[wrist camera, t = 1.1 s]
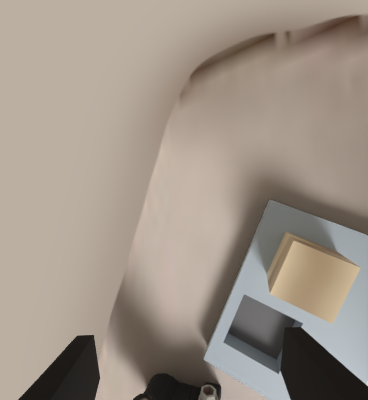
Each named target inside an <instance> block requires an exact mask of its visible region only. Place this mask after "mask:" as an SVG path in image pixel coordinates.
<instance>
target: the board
mask: <svg viewBox="0 0 368 400" xmlns="http://www.w3.org/2000/svg"><path fill="white" fill-rule="evenodd" d="M285 231H287V232H289V233H292V234H294V235H297V236H299V237H302V238H304V239H307V240H309V241H312V242H314V243H317V244H319V245H322V246H324V247H327V248H329V249H332V250H334V251H337V252H339V253H340V254H342V255H343V256H344V257H346V258H347V259H349V260H350V261H352V262H353V263H355V264H356V265H358V266H359V267H360V270H359V272H358V274H357V276H356V278H355V280H354V282H353V284H352V286H351V288H350V290H349V292H348V294H347V296H346V298H345V300H344V302H343V304H342V306H341V308H340V310H339V312H338V314H337V316H336V318H335V320H334V322H333V324H331V323H329V322H327V321H325V320H323V319H321V318H319V317H317V316H315V315H313V314H310V313H308V312H306V311H304V310H302V309H300V308H298V307H296V306H294V305H292V304H290V303H288V302H286V301H283V300H281V299H279V298H277V297H275V296H273V295H271V294H270V292H269V286H268V280H267V272H268V270H269V267H270V265H271V263H272V260H273V258H274V256H275V254H276V251H277V249H278V247H279V245H280V242H281V240H282V238H283V235H284V233H285ZM285 327H301V328H303V329H304V330H305V331H306V332H307V333H308V334H309V335H310V336H312V337H313V338H314V339H315V340H316V341H317V342H318V343H319V344H320V345H322V346H323V347H324V348H325V349H326V350H327V351H328V352H329V353H330V354H332V355H333V356H334V357H335V358H336V359H337V360H338V361H339V362H341V363H342V364H343V365H344V366H345V367H346V368H347V369H349V370H350V371H351V372H352V373H353V374H354V375H355V376H357V377H358V378H359V379H360V380H361V381H362V382H364V383H365V384H366V385H367V386H368V235H366V234H363V233H360V232H358V231H355V230H352V229H349V228H347V227H344V226H341V225H339V224H336V223H333V222H330V221H328V220H325V219H322V218H320V217H317V216H314V215H311V214H309V213H306V212H303V211H300V210H298V209H295V208H292V207H290V206H287V205H284V204H281V203H279V202H276V201H273V200H271V199H269V201H268V203H267V206H266V208H265V211H264V213H263V215H262V218H261V220H260V222H259V225H258V227H257V230H256V232H255V234H254V237H253V239H252V241H251V244H250V246H249V249H248V251H247V253H246V256H245V258H244V260H243V263H242V265H241V267H240V270H239V272H238V275H237V277H236V279H235V282H234V284H233V286H232V289H231V291H230V294H229V296H228V298H227V301H226V303H225V305H224V308H223V310H222V313H221V315H220V317H219V320H218V322H217V324H216V327H215V329H214V332H213V334H212V336H211V339H210V341H209V343H208V346H207V349H206V352H205V356H204V359H203V360H205V361H206V362H208V363H210V364H211V365H213V366H215V367H216V368H218V369H220V370H221V371H223V372H225V373H226V374H228V375H230V376H231V377H233V378H234V379H236V380H238V381H239V382H241V383H243V384H244V385H246V386H248V387H249V388H251V389H253V390H254V391H256V392H258V393H259V394H261V395H263V396H264V397H266V398H267V399H269V400H291V399H290V396H289V394H288V391H287V388H286V385H285V382H284V379H283V377H282V374H281V371H280V367H281V358H282V348H283V339H284V329H285Z"/></svg>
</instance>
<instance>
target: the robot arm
mask: <svg viewBox="0 0 368 400" xmlns="http://www.w3.org/2000/svg"><path fill="white" fill-rule="evenodd" d="M280 371H281V374H282V377H283V379H284V382H285V385H286V388H287V391H288V394H289V396H290V399H291V400H368V386H367V385H366V384H365V383H364V382H362V381H361V380H360V379H359V378H358V377H357V376H355V375H354V374H353V373H352V372H351V371H350V370H349V369H347V368H346V367H345V366H344V365H343V364H342V363H341V362H339V361H338V360H337V359H336V358H335V357H334V356H333V355H332V354H330V353H329V352H328V351H327V350H326V349H325V348H324V347H323V346H322V345H320V344H319V343H318V342H317V341H316V340H315V339H314V338H313V337H312V336H310V335H309V334H308V333H307V332H306V331H305V330H304V329H303V328H301V327H285V329H284V339H283V348H282V358H281V367H280ZM99 380H100V374H99V368H98V361H97V354H96V347H95V341H94V335H84V336H77V337H76V338H75V339H74V340H73V341H72V342H71V343H70V344H69V345H68V346H67V347H66V348H65V350H64V351H63V352H62V353H61V354H60V355H59V356H58V357H57V358H56V360H55V361H54V362H53V363H52V364H51V365H50V366H49V367H48V368H47V370H46V371H45V372H44V373H43V374H42V375H41V376H40V377H39V379H37V381H35V382H34V384H33V385H32V386H31V387H30V388H29V389H28V390H27V391H26V392H25V393H24V394H23V395H22V396H21V397H20V398H19V400H95V396H96V392H97V388H98V384H99Z"/></svg>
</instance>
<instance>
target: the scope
mask: <svg viewBox="0 0 368 400" xmlns="http://www.w3.org/2000/svg"><path fill="white" fill-rule="evenodd" d="M220 398H221V386H220V385H217V384H212V383H208V382H206V383H205V385H204V386H202V388H199V387H195V386H192V385H188V384H184V383H180V382H178V381H177V380H176V379H175V378H173V377H172V376H170V375H168V374H163V373H162V374H157V375H155V376H154V377H153V378H152V379H151V381H150V383H149V384H148V386H147V388H146V390H145V392H144V393H143V394H140V395H138V396H136V397H135V398H134V399H133V400H220Z"/></svg>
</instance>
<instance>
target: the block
mask: <svg viewBox="0 0 368 400" xmlns="http://www.w3.org/2000/svg"><path fill="white" fill-rule="evenodd" d="M359 270H360V267H359V266H358V265H356V264H355V263H353V262H352V261H350V260H349V259H347V258H346V257H344V256H343V255H342V254H340V253H339V252H337V251H334V250H332V249H329V248H327V247H324V246H322V245H319V244H317V243H314V242H312V241H309V240H307V239H304V238H302V237H299V236H297V235H294V234H292V233H289V232H287V231H285V233H284V235H283V238H282V240H281V242H280V245H279V247H278V249H277V251H276V254H275V256H274V258H273V260H272V263H271V265H270V267H269V270H268V272H267V280H268V286H269V292H270V294H271V295H273V296H275V297H277V298H279V299H281V300H283V301H286V302H288V303H290V304H292V305H294V306H296V307H298V308H300V309H302V310H304V311H306V312H308V313H310V314H313V315H315V316H317V317H319V318H321V319H323V320H325V321H327V322H329V323H331V324H333V322H334V320H335V318H336V316H337V314H338V312H339V310H340V308H341V306H342V304H343V302H344V300H345V298H346V296H347V294H348V292H349V290H350V288H351V286H352V284H353V282H354V280H355V278H356V276H357V274H358V272H359Z"/></svg>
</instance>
